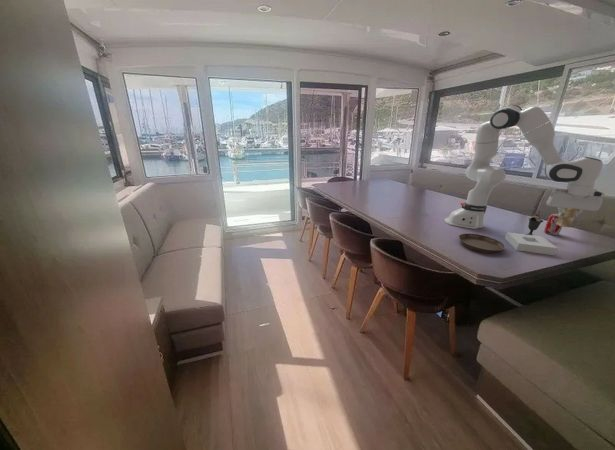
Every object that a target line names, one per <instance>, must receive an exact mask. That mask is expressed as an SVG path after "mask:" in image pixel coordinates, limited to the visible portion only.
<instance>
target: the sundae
mask: <svg viewBox="0 0 615 450" xmlns="http://www.w3.org/2000/svg"><path fill="white" fill-rule="evenodd" d="M539 213H540V211H538V213H535V214H534V215H532V216H530V217H529V218H528V224H527V225H528V229H529V233H525V234H526V235H533V232H534V231H536V230H537V229H538V228H539V227H540V225H541V223H543V222H544V220H543V219H542V218H541V217H540V214H539Z"/></svg>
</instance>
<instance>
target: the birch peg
mask: <svg viewBox="0 0 615 450" xmlns="http://www.w3.org/2000/svg"><path fill="white" fill-rule="evenodd" d="M577 211H578V209H573V208H564V209H563V210H562V212H563V213H564V216H559V218H558V220H557V223H556V224H557V225H559V226H562V228H563V227H564V228H571V226H572V225H573V224H572V223H573V222H574V220H575V218H574V217H575V215H576V213H577Z"/></svg>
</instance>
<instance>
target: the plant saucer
mask: <svg viewBox="0 0 615 450" xmlns="http://www.w3.org/2000/svg"><path fill="white" fill-rule="evenodd" d="M458 239H459V241H460V242H461V244H462V245H463V246H464V247H465V248H467V249H470V250H472V249H473V251H475V250H476V252H480V253H485V254H495V253H499V252H501V251H502V250H504V249H505V244H504V243H502V241H499V240H497V239H496V238H493V237H490V236H486V235H483V234H478V233H460V234H459V235H458Z"/></svg>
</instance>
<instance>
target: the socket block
mask: <svg viewBox="0 0 615 450" xmlns="http://www.w3.org/2000/svg"><path fill="white" fill-rule="evenodd" d="M526 234H527V233H517V232H509V231H508V232H506V235H505V238H504V239H505V240H506V241H507V243H509V244H510V245H511V247H513V248H514V249H515V250H516V251H521V252H528V253H534V254H535V253H536V254H541V255H548V256H549V255H550V256H556V254H557V252H558V249H559V248H558V246H556V245H555V244H553V243H551V242H550V241H549V240H548V239H546V238H545V237H543V236H541V235H535V234H532V235H526Z"/></svg>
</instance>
